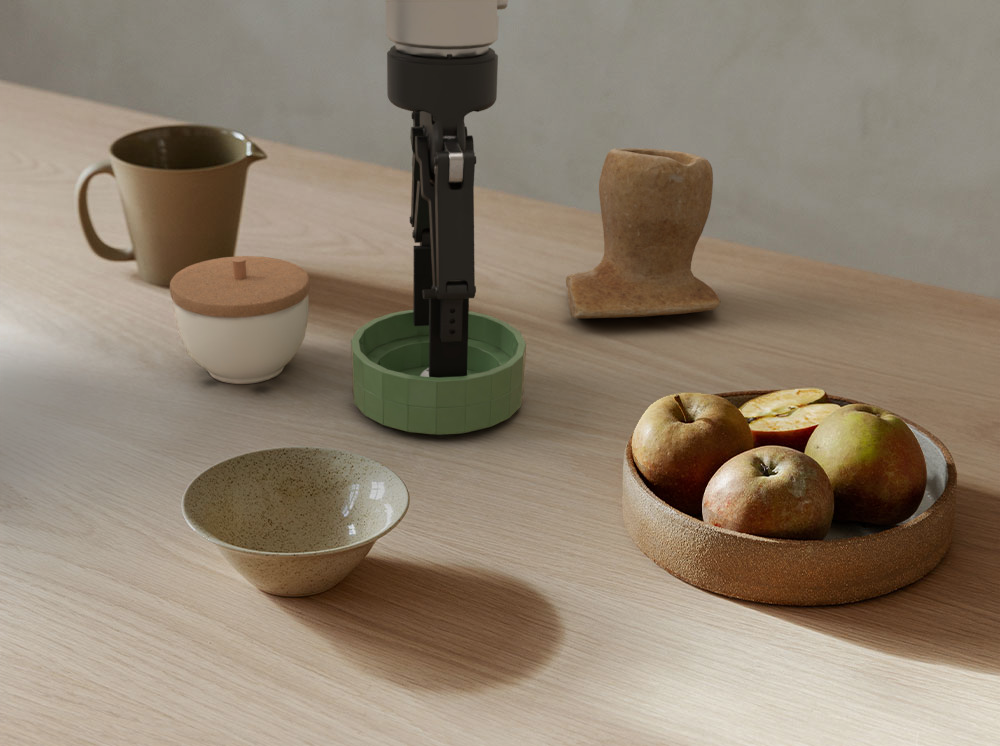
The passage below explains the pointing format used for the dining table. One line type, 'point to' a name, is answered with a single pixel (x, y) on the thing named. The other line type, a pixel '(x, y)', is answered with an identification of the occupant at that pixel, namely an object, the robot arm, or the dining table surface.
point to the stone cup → (647, 237)
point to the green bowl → (430, 400)
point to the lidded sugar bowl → (241, 315)
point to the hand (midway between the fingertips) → (438, 348)
